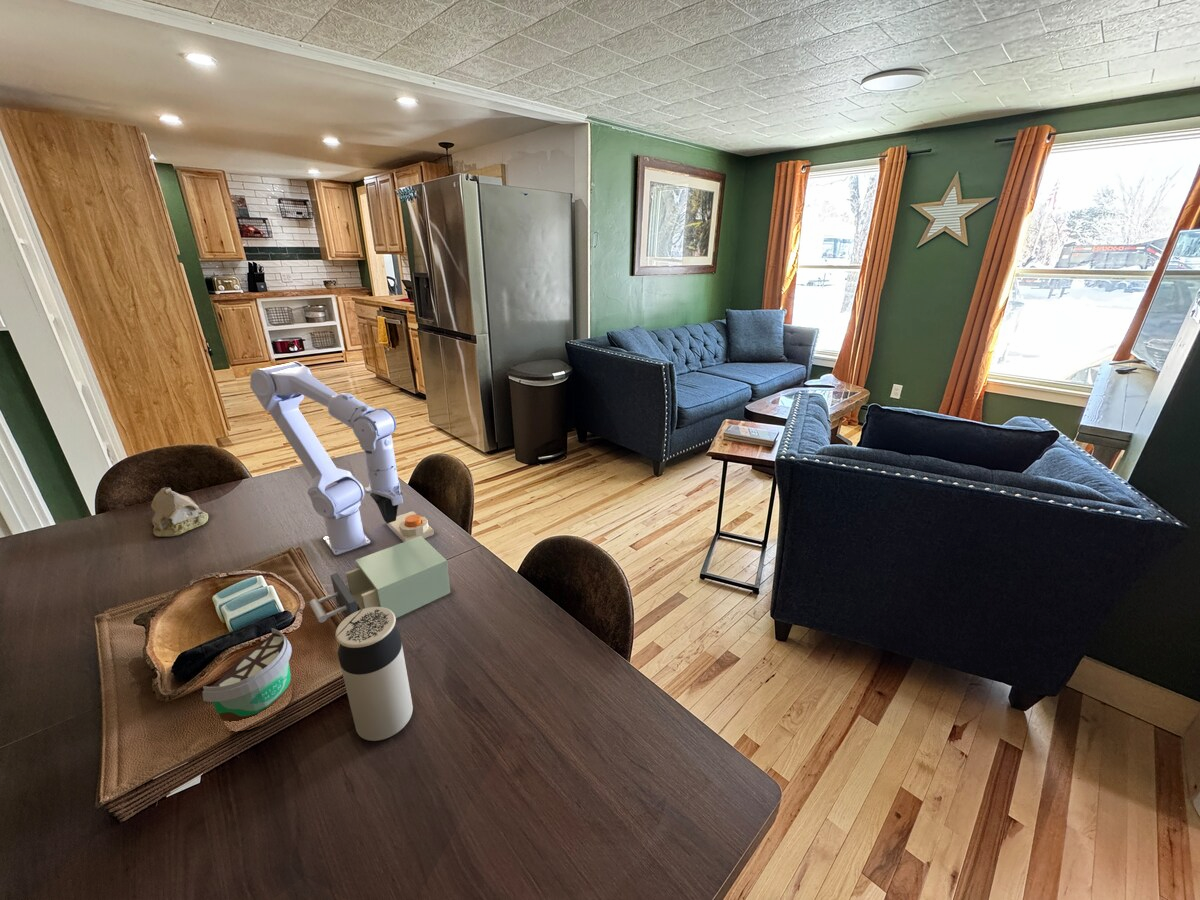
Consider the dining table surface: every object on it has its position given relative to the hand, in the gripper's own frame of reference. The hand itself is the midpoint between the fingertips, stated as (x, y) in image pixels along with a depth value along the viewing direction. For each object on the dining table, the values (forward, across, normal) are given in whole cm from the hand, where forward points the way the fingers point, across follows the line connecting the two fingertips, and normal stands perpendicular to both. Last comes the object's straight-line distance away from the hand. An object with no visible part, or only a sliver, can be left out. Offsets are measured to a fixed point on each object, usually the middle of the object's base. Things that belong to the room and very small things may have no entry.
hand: (390, 520), depth 106 cm
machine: (+9, +14, -3) cm, 18 cm away
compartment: (+9, +14, -11) cm, 20 cm away
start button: (+6, -6, +7) cm, 11 cm away
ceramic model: (+10, -49, -36) cm, 62 cm away
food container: (+10, +28, -29) cm, 41 cm away
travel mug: (+10, +41, -17) cm, 45 cm away
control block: (+9, -9, +7) cm, 15 cm away
